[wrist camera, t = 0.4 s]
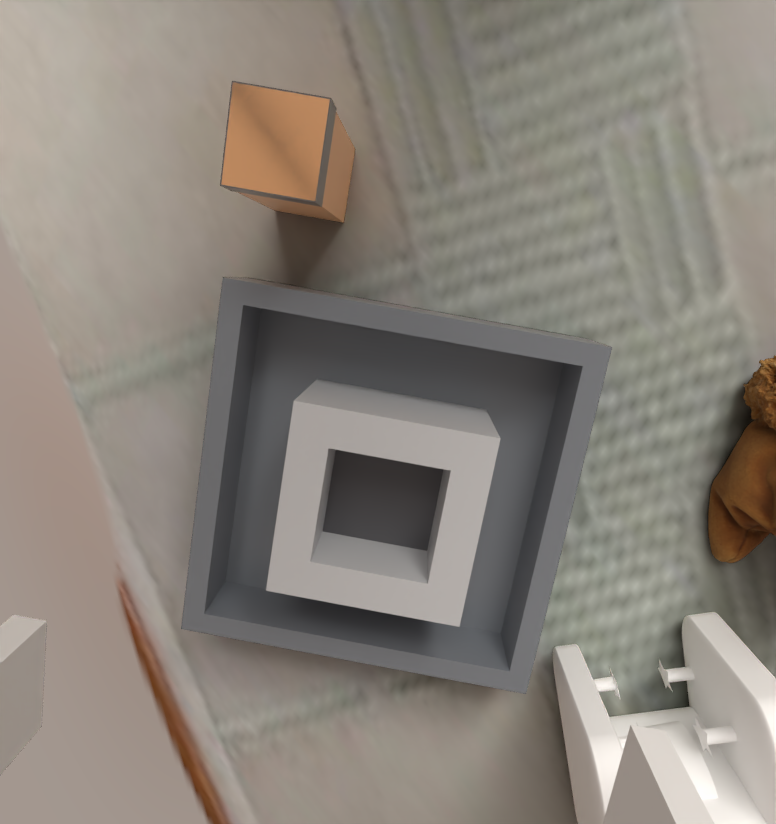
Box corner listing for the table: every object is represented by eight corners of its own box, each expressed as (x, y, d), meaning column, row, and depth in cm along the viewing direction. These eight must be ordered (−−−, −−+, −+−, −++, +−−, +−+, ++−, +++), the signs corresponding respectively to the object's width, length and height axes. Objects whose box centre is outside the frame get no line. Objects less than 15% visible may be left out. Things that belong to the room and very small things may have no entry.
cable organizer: (542, 617, 41) (589, 748, 29) (712, 593, 40) (828, 718, 28) (573, 817, 44) (626, 1006, 32) (732, 798, 43) (845, 986, 31)
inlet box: (249, 277, 37) (203, 276, 29) (587, 338, 37) (631, 353, 29) (209, 588, 41) (160, 659, 34) (513, 645, 41) (535, 730, 33)
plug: (284, 136, 36) (232, 80, 26) (356, 148, 36) (331, 98, 26) (274, 211, 37) (219, 185, 27) (344, 223, 36) (315, 202, 27)
